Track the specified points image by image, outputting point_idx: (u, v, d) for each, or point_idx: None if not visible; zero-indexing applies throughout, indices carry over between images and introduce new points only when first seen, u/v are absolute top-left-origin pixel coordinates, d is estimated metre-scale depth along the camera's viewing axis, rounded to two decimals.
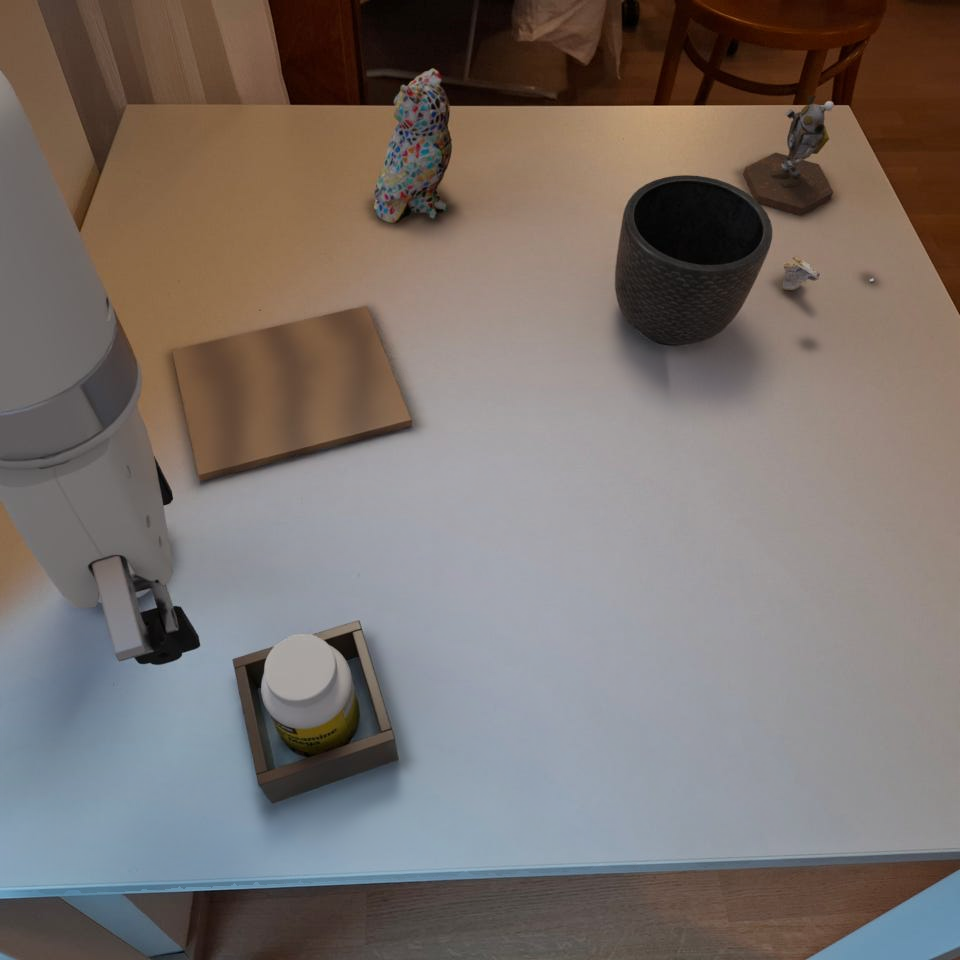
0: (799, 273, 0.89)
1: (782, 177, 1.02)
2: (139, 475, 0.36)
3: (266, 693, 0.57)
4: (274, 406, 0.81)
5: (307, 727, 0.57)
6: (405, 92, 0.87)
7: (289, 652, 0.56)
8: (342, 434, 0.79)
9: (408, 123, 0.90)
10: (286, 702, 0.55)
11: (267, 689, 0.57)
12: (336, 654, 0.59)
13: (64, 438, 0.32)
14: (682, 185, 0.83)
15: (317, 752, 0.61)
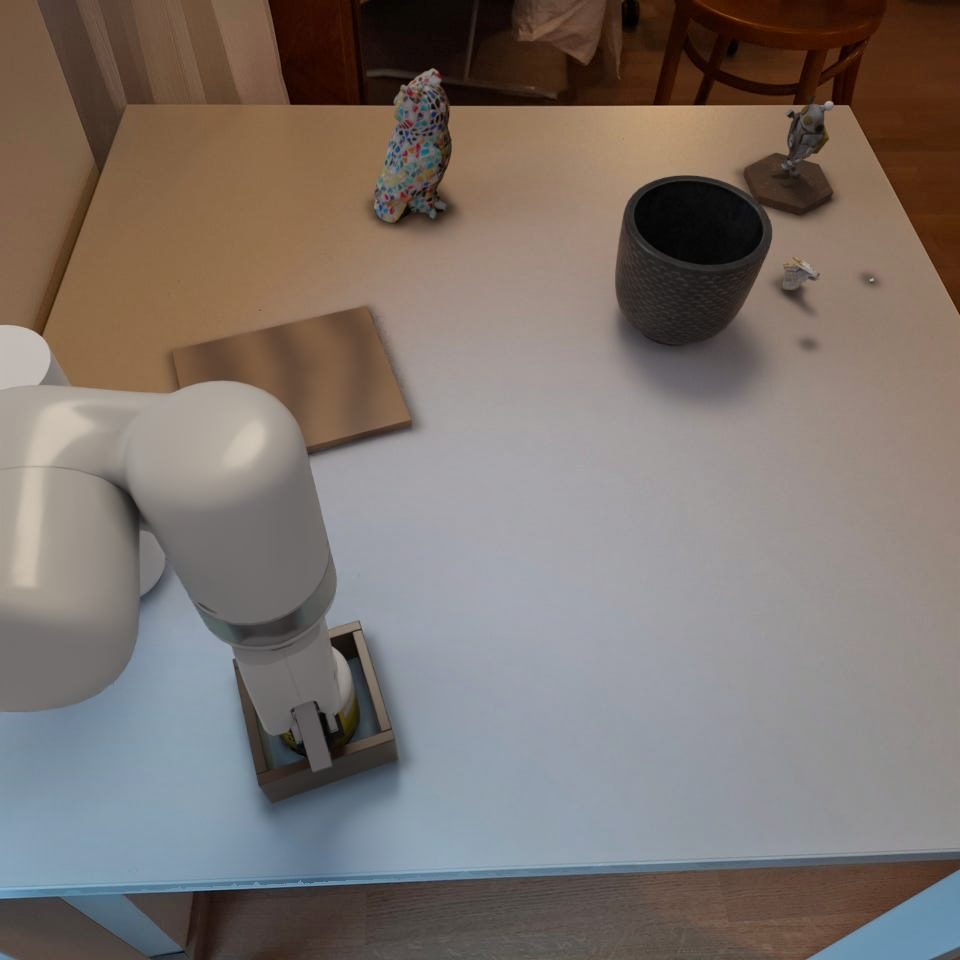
0: (799, 273, 0.89)
1: (782, 177, 1.02)
2: (328, 640, 0.48)
3: None
4: None
5: None
6: (405, 92, 0.87)
7: None
8: (342, 434, 0.79)
9: (407, 123, 0.90)
10: None
11: None
12: (336, 654, 0.59)
13: (293, 631, 0.43)
14: (682, 185, 0.83)
15: None
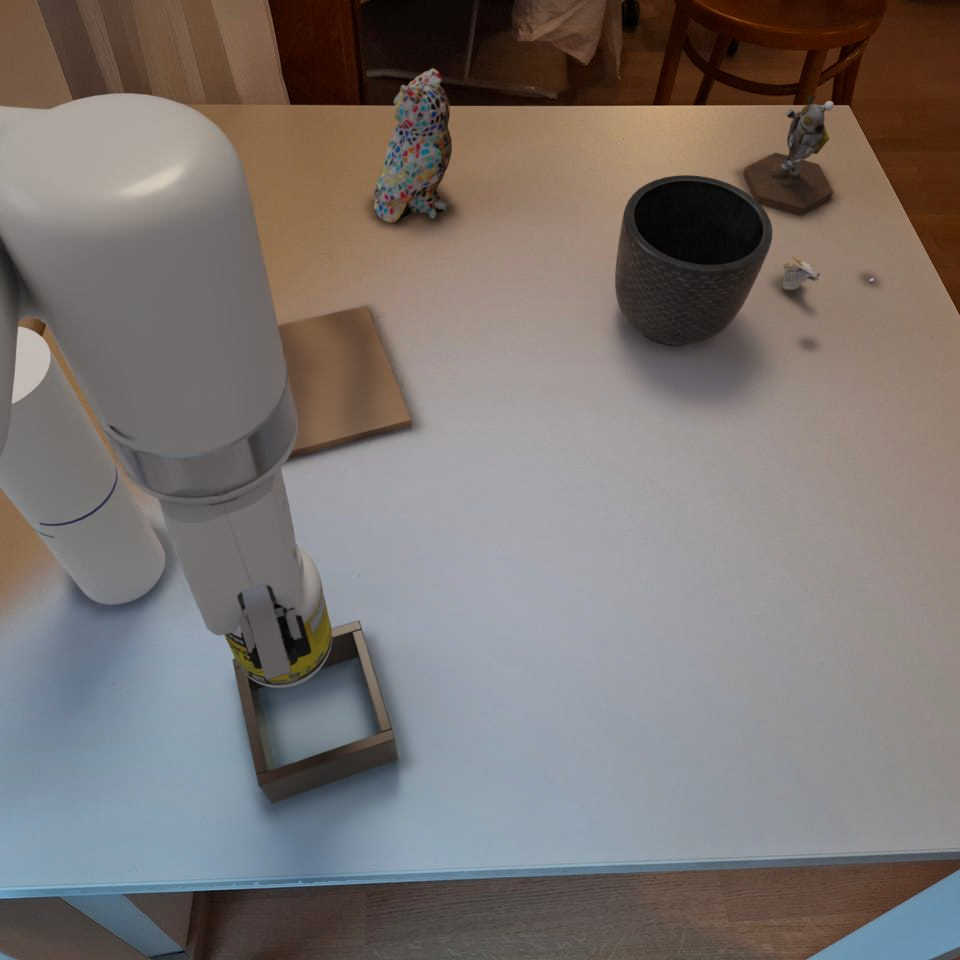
0: (799, 273, 0.89)
1: (782, 177, 1.02)
2: (287, 508, 0.38)
3: None
4: None
5: None
6: (405, 92, 0.87)
7: None
8: (342, 434, 0.79)
9: (408, 123, 0.90)
10: None
11: None
12: (303, 555, 0.48)
13: (238, 477, 0.33)
14: (682, 185, 0.83)
15: (279, 677, 0.51)
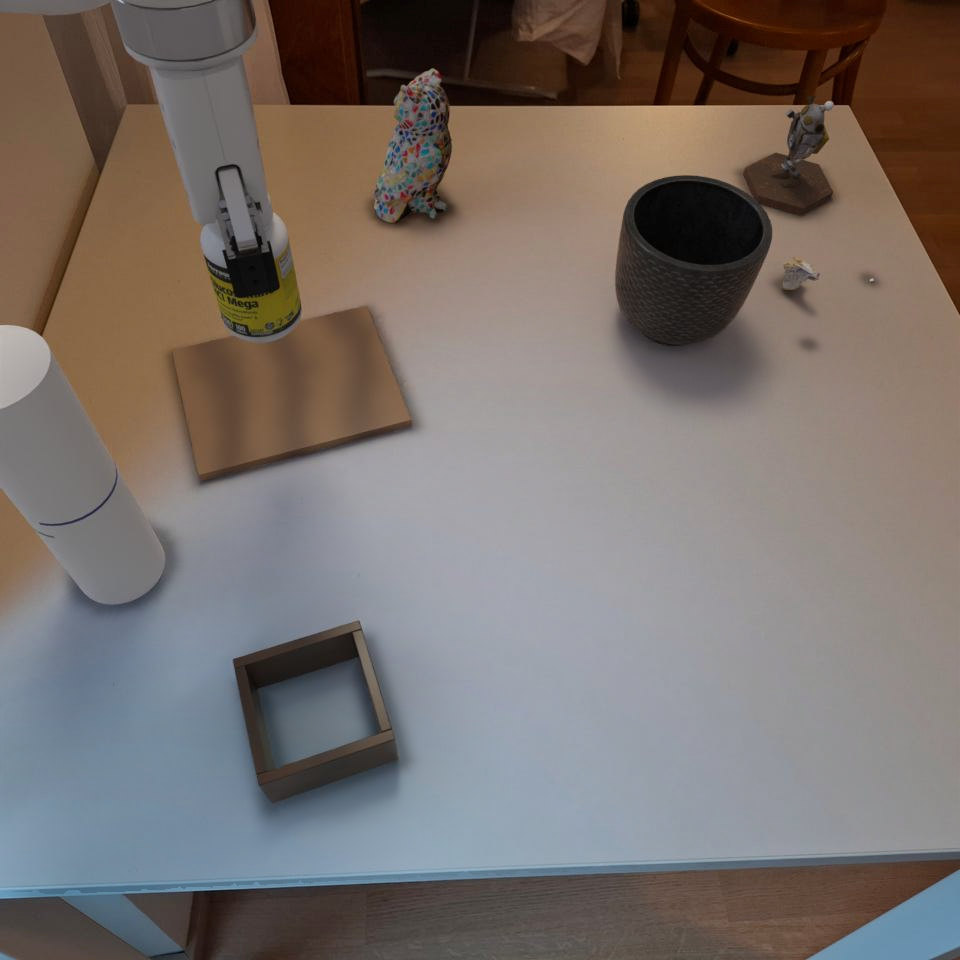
0: (799, 273, 0.89)
1: (782, 177, 1.02)
2: (252, 107, 0.50)
3: (204, 237, 0.59)
4: (274, 406, 0.81)
5: None
6: (405, 92, 0.87)
7: None
8: (342, 434, 0.79)
9: (407, 123, 0.90)
10: None
11: (205, 234, 0.59)
12: (274, 213, 0.61)
13: (211, 44, 0.46)
14: (682, 185, 0.83)
15: (257, 325, 0.63)
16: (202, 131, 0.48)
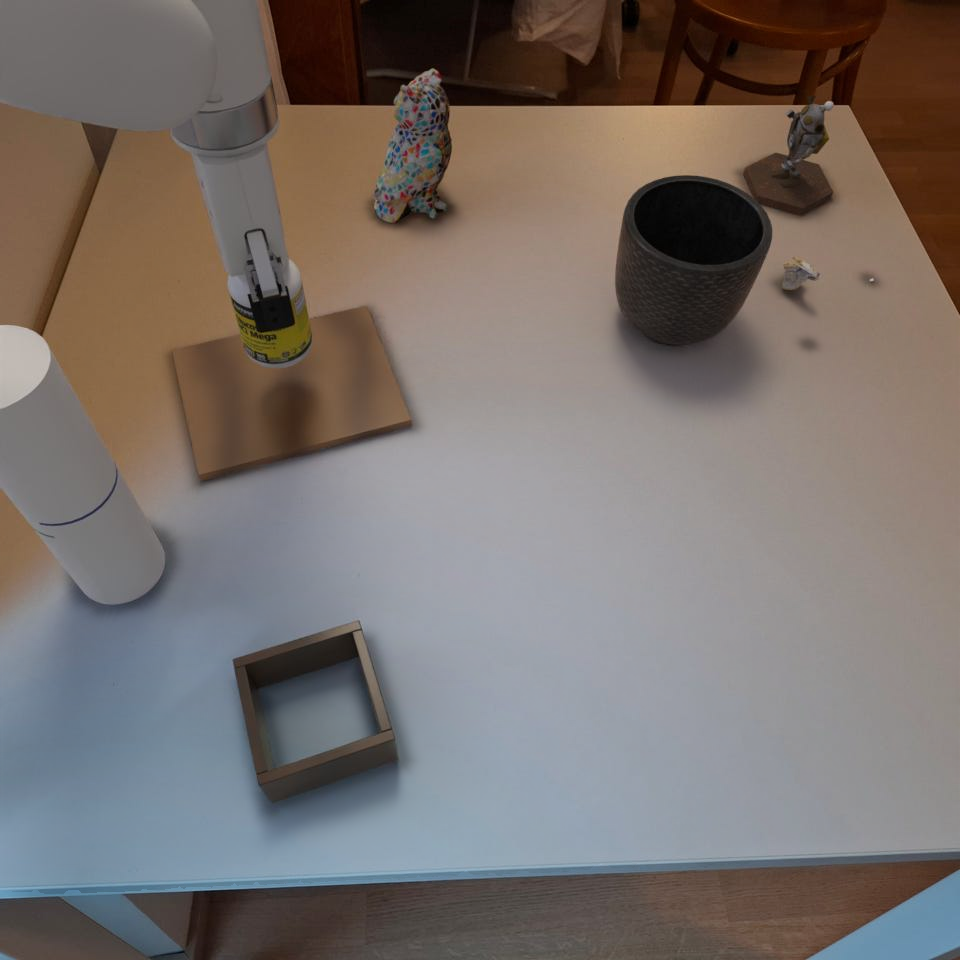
0: (799, 273, 0.89)
1: (782, 177, 1.02)
2: (274, 181, 0.61)
3: (231, 281, 0.70)
4: (274, 406, 0.81)
5: None
6: (405, 92, 0.87)
7: None
8: (342, 434, 0.79)
9: (407, 123, 0.90)
10: None
11: (232, 279, 0.70)
12: (289, 260, 0.72)
13: (243, 136, 0.57)
14: (682, 185, 0.83)
15: (275, 354, 0.74)
16: (235, 204, 0.59)
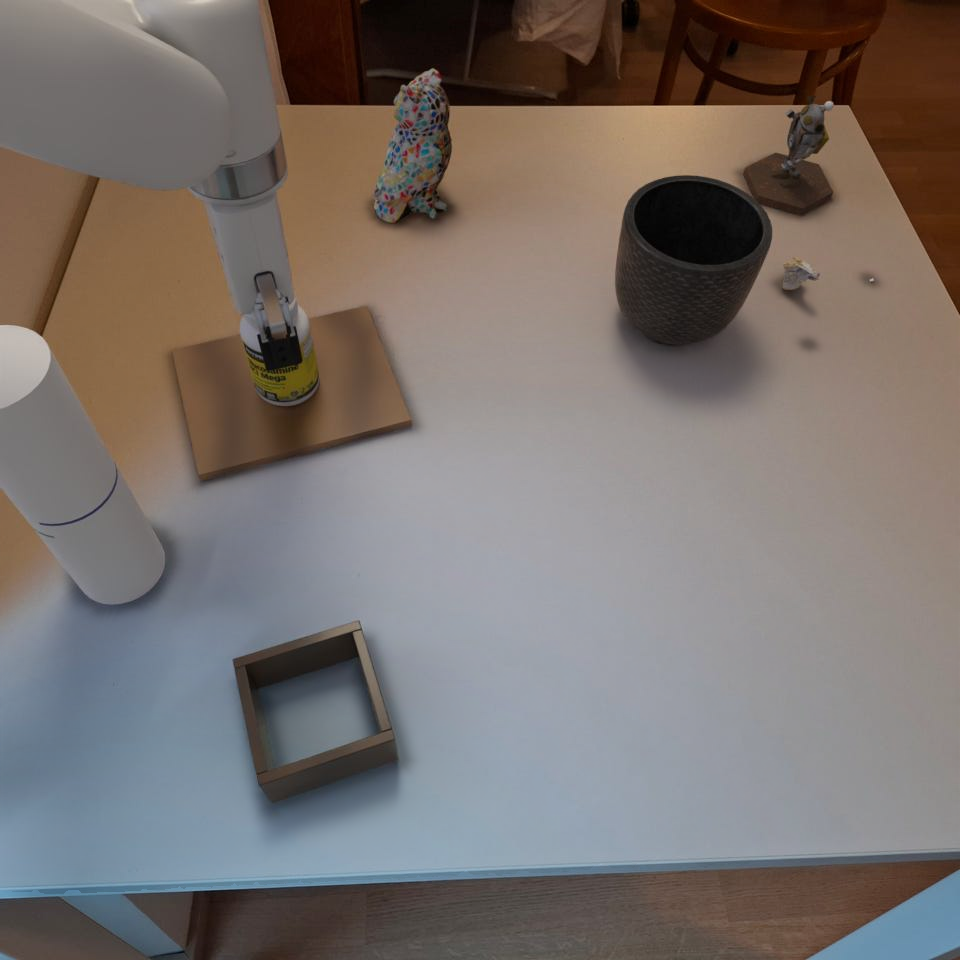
0: (799, 273, 0.89)
1: (782, 177, 1.02)
2: None
3: (243, 327, 0.74)
4: (274, 406, 0.81)
5: None
6: (405, 92, 0.87)
7: None
8: (342, 434, 0.79)
9: (408, 123, 0.90)
10: None
11: (244, 325, 0.74)
12: (298, 306, 0.76)
13: (254, 187, 0.60)
14: (682, 185, 0.83)
15: (284, 393, 0.79)
16: (245, 249, 0.62)
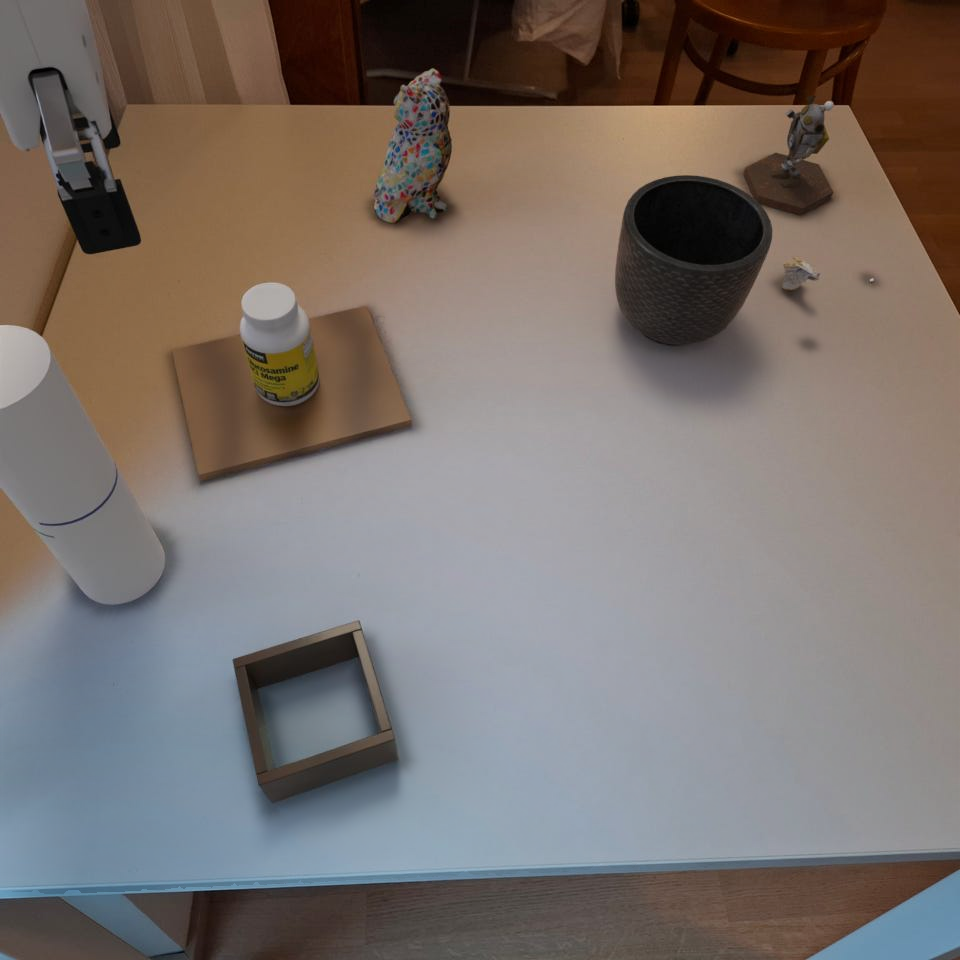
0: (799, 273, 0.89)
1: (782, 177, 1.02)
2: None
3: (243, 327, 0.74)
4: (274, 406, 0.81)
5: (274, 352, 0.74)
6: (405, 92, 0.87)
7: (261, 292, 0.73)
8: (342, 434, 0.79)
9: (407, 123, 0.90)
10: (258, 324, 0.72)
11: (244, 325, 0.74)
12: (298, 306, 0.76)
13: None
14: (682, 185, 0.83)
15: (284, 393, 0.79)
16: (2, 19, 0.37)
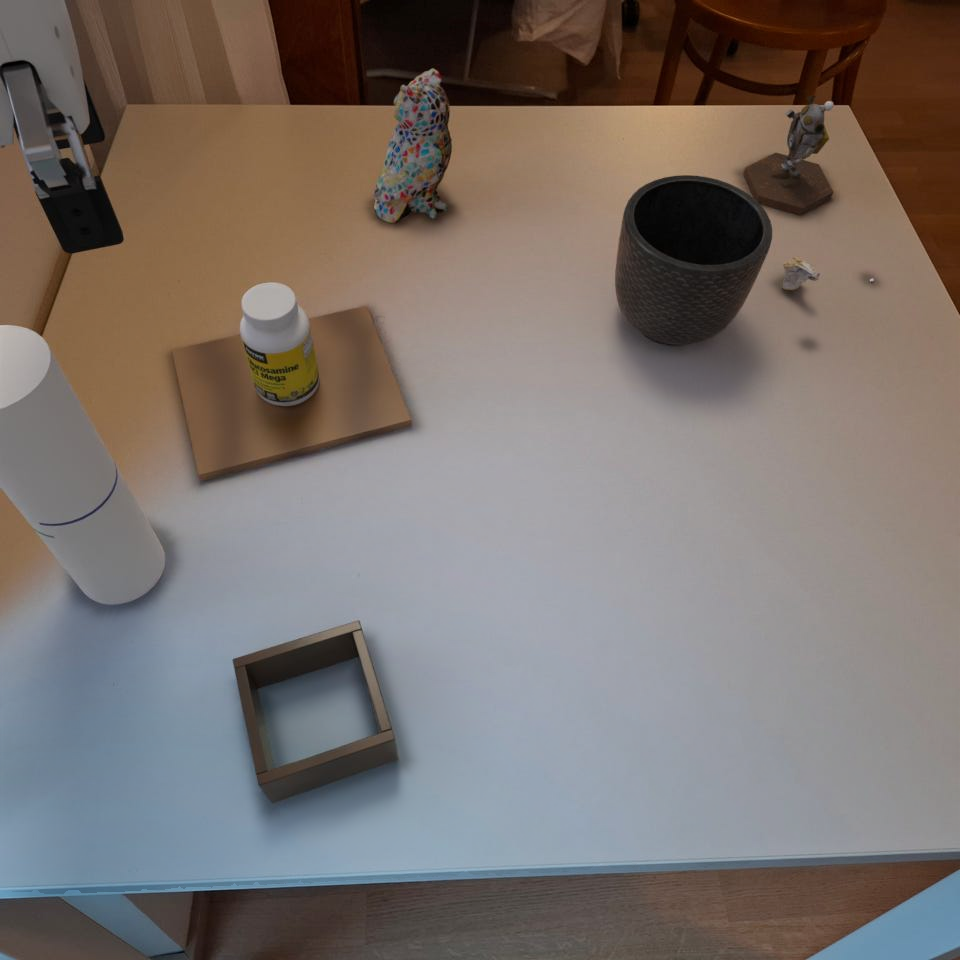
0: (799, 273, 0.89)
1: (782, 177, 1.02)
2: None
3: (243, 327, 0.74)
4: (274, 406, 0.81)
5: (274, 352, 0.74)
6: (405, 92, 0.87)
7: (261, 292, 0.73)
8: (342, 434, 0.79)
9: (407, 123, 0.90)
10: (258, 324, 0.72)
11: (244, 325, 0.74)
12: (298, 306, 0.76)
13: None
14: (682, 185, 0.83)
15: (284, 393, 0.79)
16: None
